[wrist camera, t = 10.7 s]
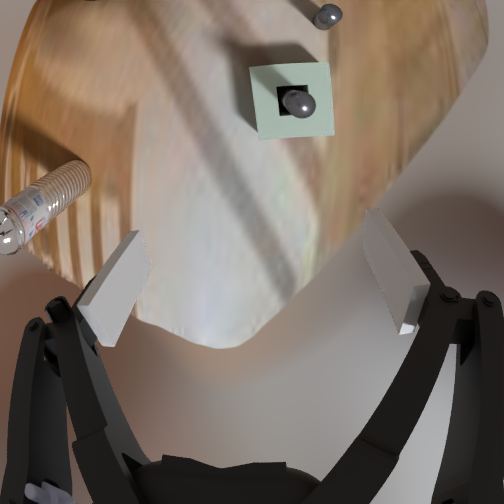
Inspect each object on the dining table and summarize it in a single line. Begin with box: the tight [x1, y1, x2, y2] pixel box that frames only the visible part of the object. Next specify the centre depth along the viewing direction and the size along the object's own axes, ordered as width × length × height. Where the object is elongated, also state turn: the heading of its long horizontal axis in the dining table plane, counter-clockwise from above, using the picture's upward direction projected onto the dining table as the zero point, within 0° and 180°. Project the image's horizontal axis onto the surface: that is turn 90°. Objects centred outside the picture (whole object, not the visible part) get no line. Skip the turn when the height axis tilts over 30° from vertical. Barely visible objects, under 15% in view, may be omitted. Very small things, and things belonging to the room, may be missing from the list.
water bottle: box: [0, 160, 92, 255], centre depth 33 cm, size 7×7×25 cm
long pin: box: [281, 90, 316, 119], centre depth 30 cm, size 3×3×14 cm
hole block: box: [249, 63, 335, 140], centre depth 34 cm, size 10×10×5 cm
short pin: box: [313, 4, 342, 30], centre depth 27 cm, size 3×3×6 cm
